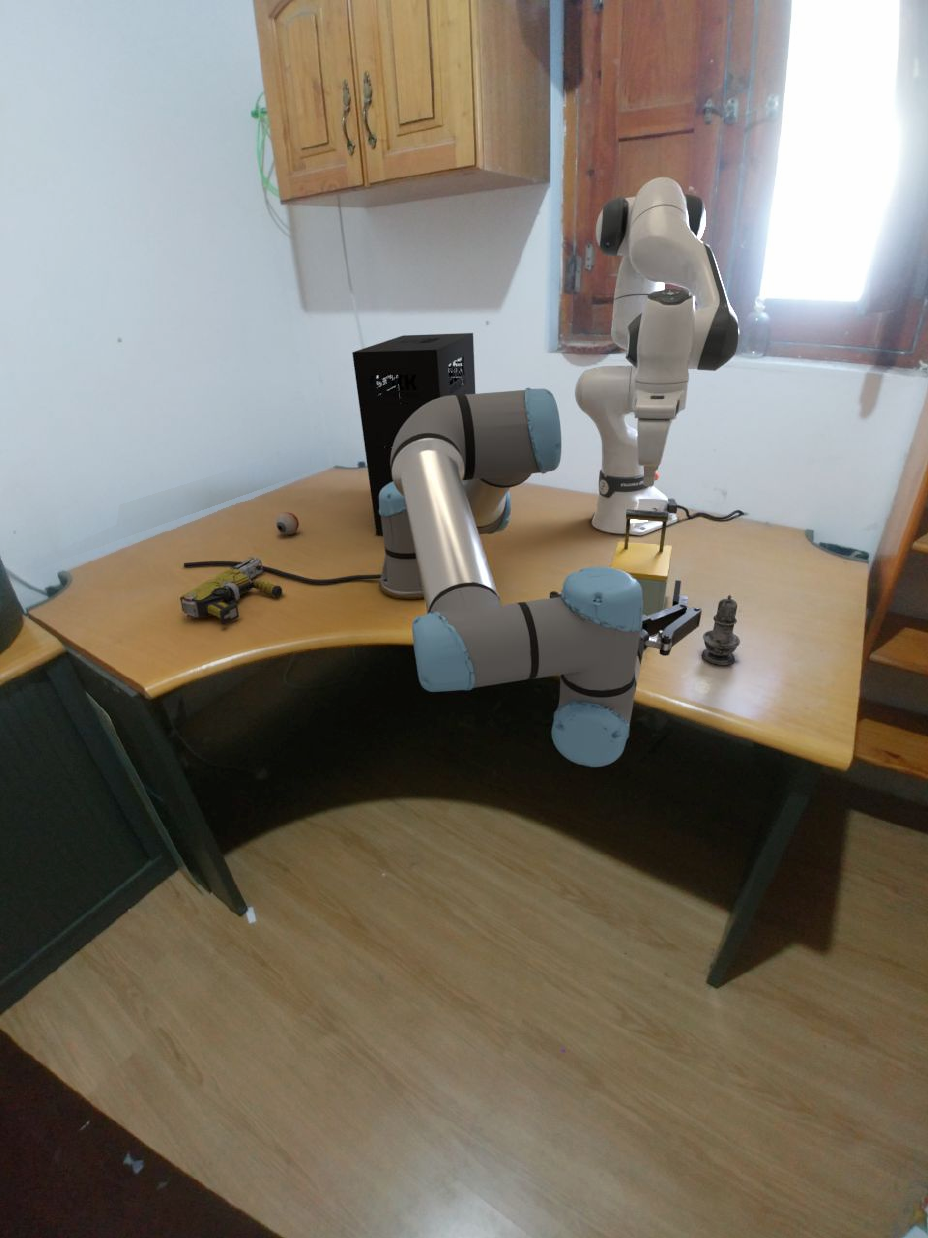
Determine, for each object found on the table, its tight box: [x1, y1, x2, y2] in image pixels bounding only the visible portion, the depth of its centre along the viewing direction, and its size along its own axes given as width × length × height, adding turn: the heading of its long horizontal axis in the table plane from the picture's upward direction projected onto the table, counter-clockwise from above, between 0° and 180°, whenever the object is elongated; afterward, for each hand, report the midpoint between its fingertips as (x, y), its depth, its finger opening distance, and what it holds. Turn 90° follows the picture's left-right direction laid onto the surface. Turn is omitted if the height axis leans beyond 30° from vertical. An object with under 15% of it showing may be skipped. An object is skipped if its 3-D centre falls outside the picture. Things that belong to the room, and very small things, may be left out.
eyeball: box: [275, 511, 300, 536], centre depth 163 cm, size 6×6×6 cm
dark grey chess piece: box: [701, 594, 741, 666], centre depth 101 cm, size 6×6×12 cm
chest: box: [634, 557, 671, 616], centre depth 117 cm, size 14×10×10 cm
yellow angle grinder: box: [179, 556, 283, 625], centre depth 132 cm, size 5×24×15 cm
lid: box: [609, 509, 673, 582], centre depth 112 cm, size 14×10×9 cm
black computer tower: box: [351, 332, 476, 536], centre depth 164 cm, size 38×20×45 cm, turn 167°
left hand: (628, 583), depth 89 cm, fingers open, 13 cm apart
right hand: (650, 477), depth 110 cm, fingers open, 8 cm apart
